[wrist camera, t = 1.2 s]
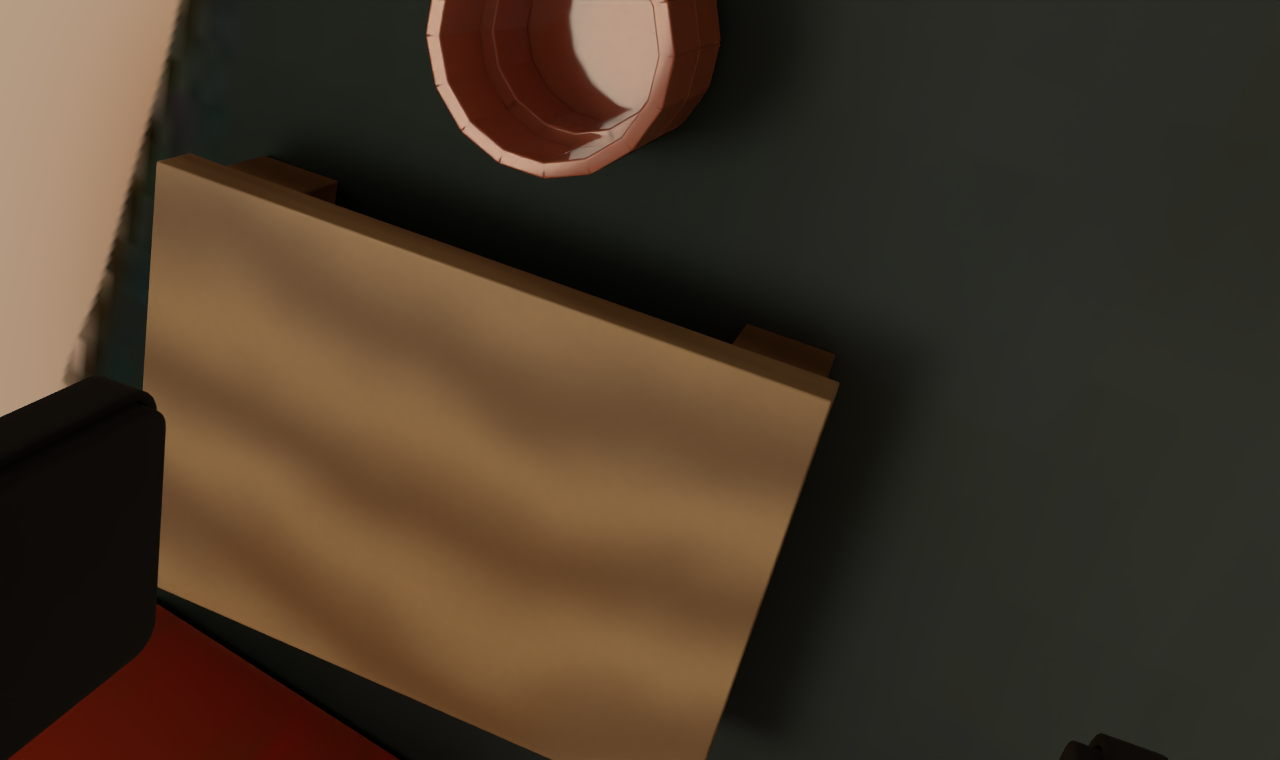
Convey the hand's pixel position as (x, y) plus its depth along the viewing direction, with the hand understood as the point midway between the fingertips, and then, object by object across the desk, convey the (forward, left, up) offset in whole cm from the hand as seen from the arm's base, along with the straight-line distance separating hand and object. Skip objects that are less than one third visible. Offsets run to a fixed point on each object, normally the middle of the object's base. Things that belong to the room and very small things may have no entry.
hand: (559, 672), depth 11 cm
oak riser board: (+13, -10, -26) cm, 30 cm away
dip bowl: (-2, -9, -26) cm, 27 cm away
